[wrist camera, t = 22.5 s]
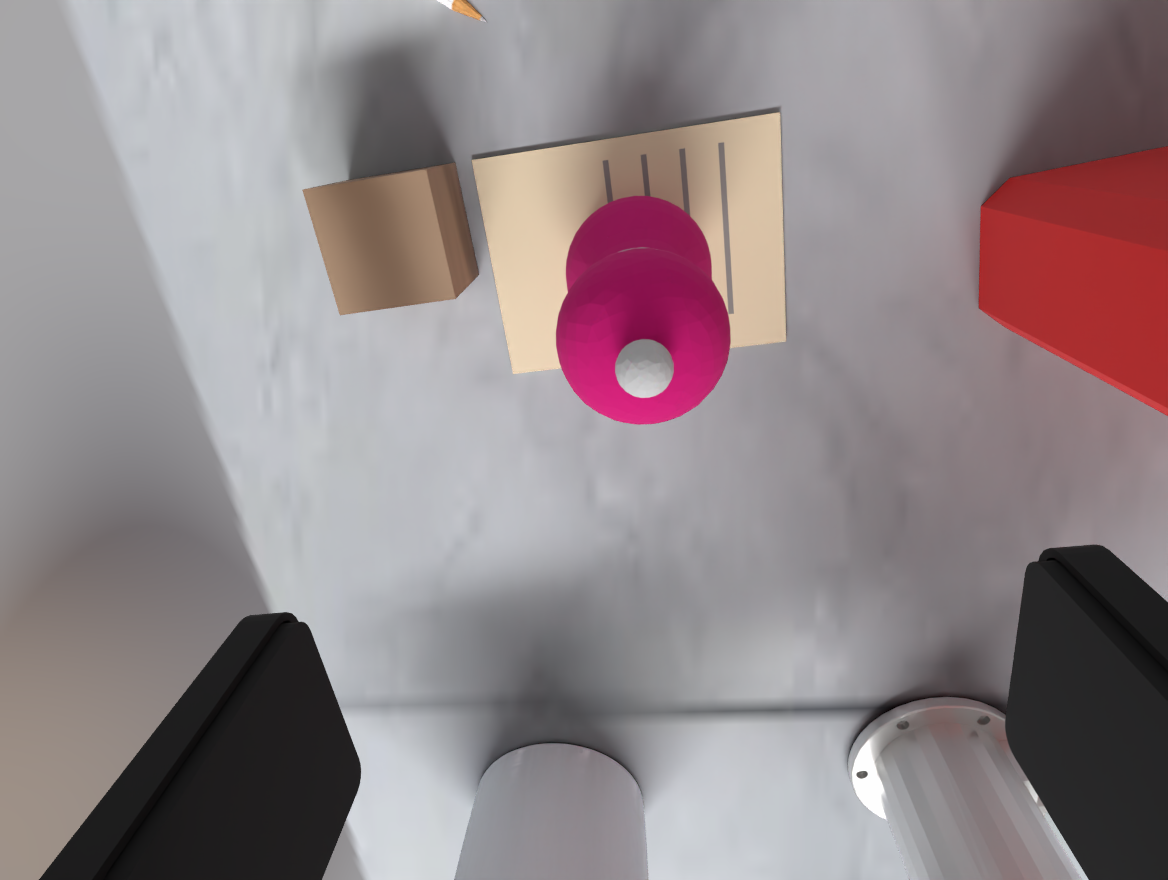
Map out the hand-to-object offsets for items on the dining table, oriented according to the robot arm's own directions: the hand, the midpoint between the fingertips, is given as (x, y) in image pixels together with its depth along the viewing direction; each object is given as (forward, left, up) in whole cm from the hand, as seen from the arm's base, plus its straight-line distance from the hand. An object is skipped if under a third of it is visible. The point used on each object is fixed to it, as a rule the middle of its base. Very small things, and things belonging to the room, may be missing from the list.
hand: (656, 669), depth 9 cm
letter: (0, 0, -32) cm, 32 cm away
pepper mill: (0, 0, -32) cm, 32 cm away
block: (+12, -3, -32) cm, 35 cm away
